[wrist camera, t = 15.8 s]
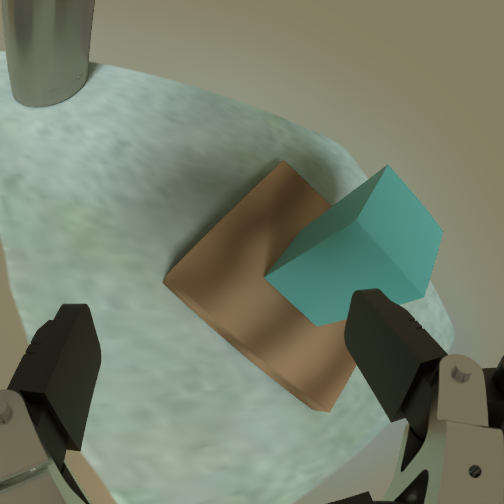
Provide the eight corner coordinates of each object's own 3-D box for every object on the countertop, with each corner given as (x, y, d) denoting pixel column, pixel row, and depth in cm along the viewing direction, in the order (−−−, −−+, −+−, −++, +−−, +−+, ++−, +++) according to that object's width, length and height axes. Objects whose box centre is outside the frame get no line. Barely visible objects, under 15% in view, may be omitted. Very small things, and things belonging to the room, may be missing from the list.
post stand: (162, 282, 24) (199, 217, 14) (272, 173, 32) (339, 96, 22) (312, 409, 26) (419, 420, 15) (381, 283, 34) (470, 247, 23)
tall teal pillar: (263, 277, 25) (355, 220, 15) (301, 229, 28) (387, 164, 18) (316, 326, 25) (423, 297, 16) (347, 275, 28) (443, 231, 19)
